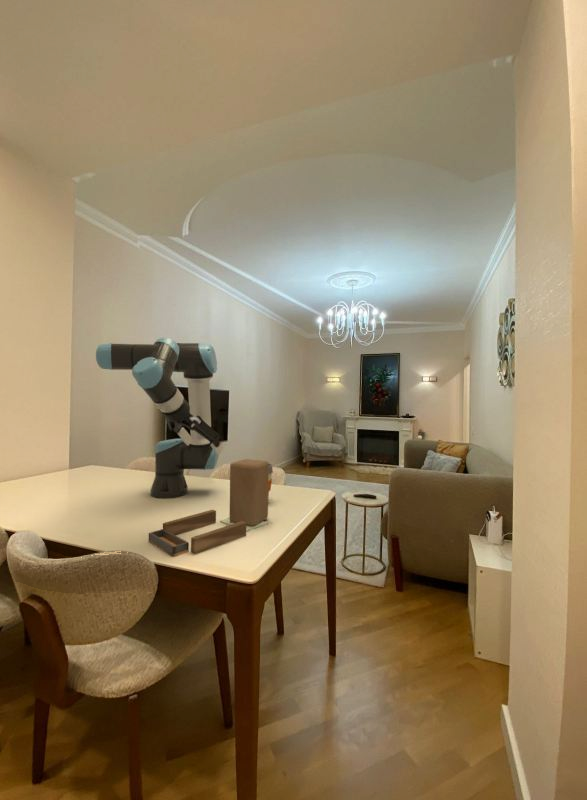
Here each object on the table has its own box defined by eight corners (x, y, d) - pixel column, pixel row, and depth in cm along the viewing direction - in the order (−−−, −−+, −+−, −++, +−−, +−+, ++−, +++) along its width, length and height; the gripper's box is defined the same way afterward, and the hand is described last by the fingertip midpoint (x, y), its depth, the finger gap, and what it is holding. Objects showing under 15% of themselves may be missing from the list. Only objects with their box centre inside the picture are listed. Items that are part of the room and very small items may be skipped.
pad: (220, 521, 120) (220, 520, 120) (242, 514, 128) (242, 513, 128) (245, 532, 112) (245, 530, 112) (267, 523, 119) (267, 522, 119)
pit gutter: (148, 541, 103) (148, 533, 103) (163, 537, 107) (163, 528, 107) (173, 556, 94) (173, 547, 94) (188, 551, 97) (188, 542, 97)
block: (253, 527, 115) (254, 465, 114) (228, 522, 119) (229, 462, 119) (268, 518, 124) (269, 460, 123) (245, 513, 128) (245, 458, 128)
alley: (162, 536, 107) (162, 523, 107) (212, 521, 121) (212, 509, 121) (194, 554, 96) (195, 539, 96) (246, 535, 109) (246, 522, 109)
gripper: (136, 406, 108) (171, 447, 122) (196, 421, 96) (227, 464, 110) (152, 389, 112) (184, 430, 126) (211, 401, 100) (239, 445, 114)
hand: (204, 446), depth 118 cm, fingers open, 13 cm apart
